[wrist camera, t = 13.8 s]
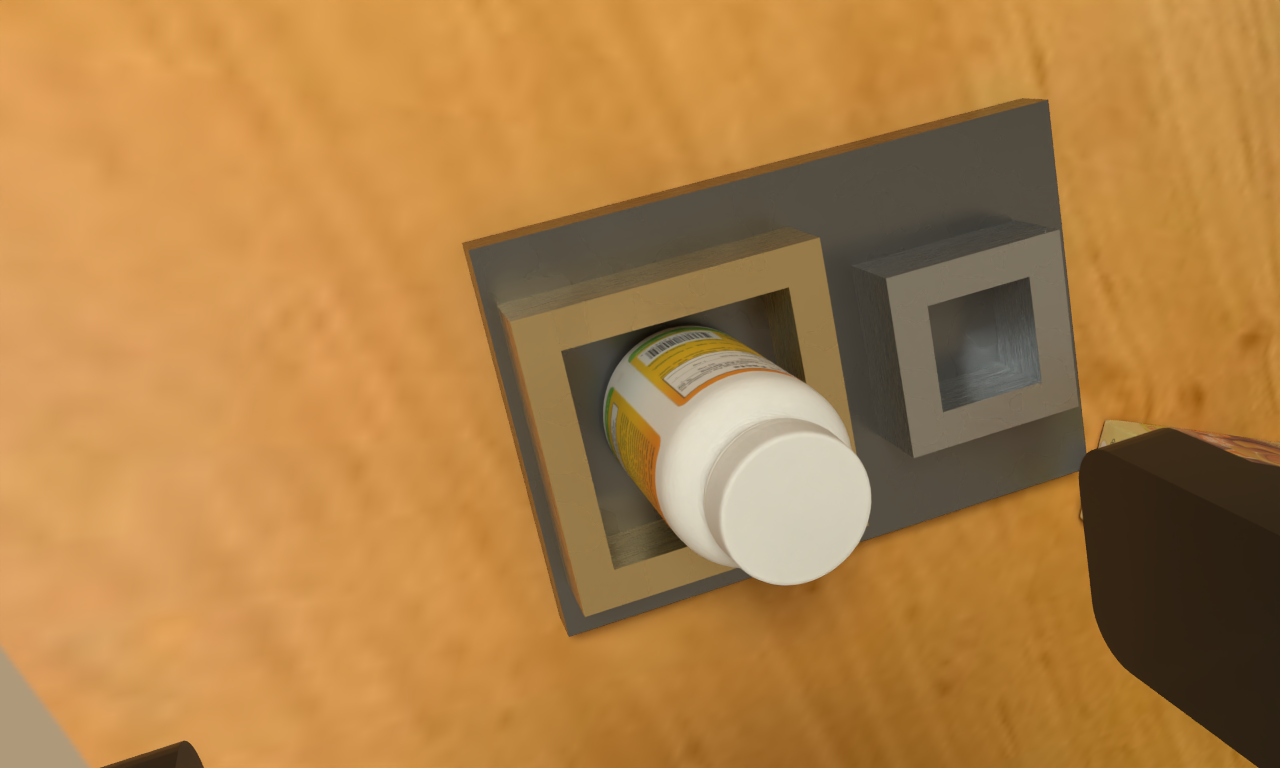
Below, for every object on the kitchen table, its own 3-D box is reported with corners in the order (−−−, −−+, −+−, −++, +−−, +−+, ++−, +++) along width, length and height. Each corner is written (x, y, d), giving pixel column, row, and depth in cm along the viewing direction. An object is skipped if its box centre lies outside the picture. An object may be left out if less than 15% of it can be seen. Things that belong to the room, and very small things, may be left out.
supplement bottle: (704, 514, 40) (822, 648, 31) (567, 438, 38) (650, 557, 29) (793, 374, 40) (940, 467, 30) (658, 290, 38) (771, 364, 29)
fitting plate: (1022, 98, 41) (1095, 102, 37) (1063, 455, 45) (1132, 490, 41) (462, 243, 37) (479, 263, 34) (560, 617, 41) (585, 672, 37)
